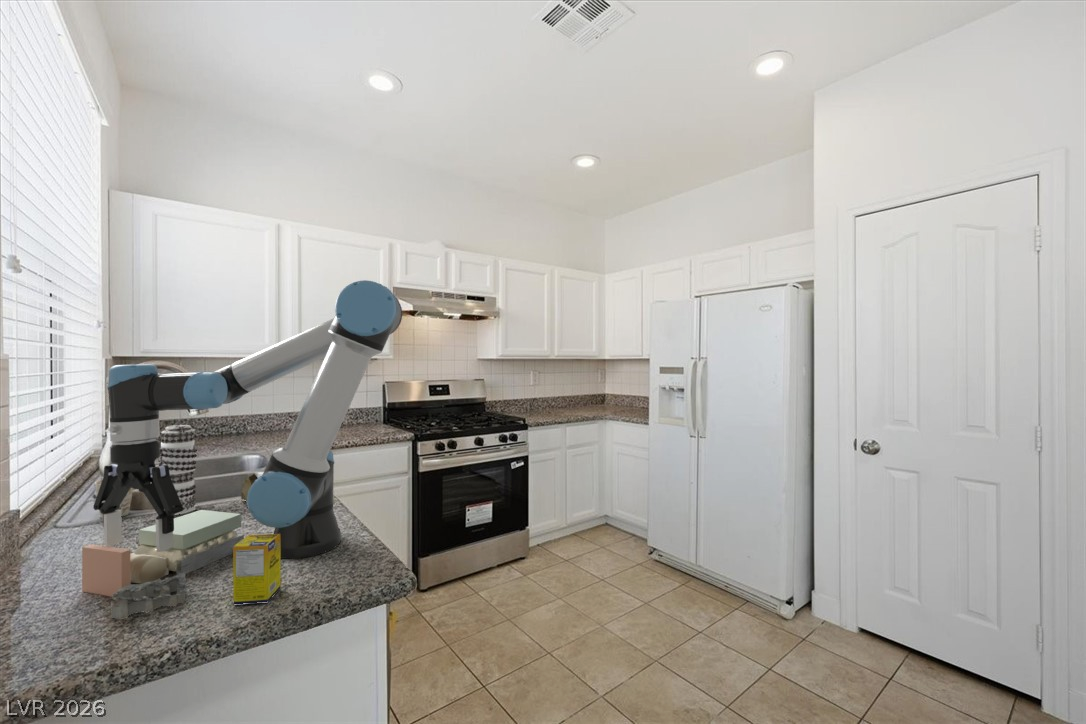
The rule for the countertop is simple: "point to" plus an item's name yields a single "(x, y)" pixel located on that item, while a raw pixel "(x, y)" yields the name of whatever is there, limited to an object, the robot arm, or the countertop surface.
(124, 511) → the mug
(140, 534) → the slab
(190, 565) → the roller bed
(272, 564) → the supplement box
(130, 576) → the roller cradle
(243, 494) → the rock
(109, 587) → the board
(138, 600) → the egg carton
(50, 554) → the countertop surface
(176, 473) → the decorative candle
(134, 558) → the roller
